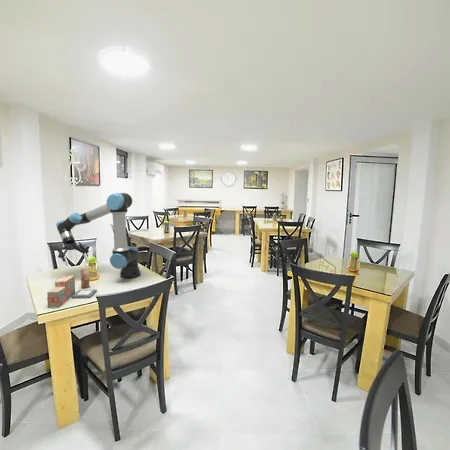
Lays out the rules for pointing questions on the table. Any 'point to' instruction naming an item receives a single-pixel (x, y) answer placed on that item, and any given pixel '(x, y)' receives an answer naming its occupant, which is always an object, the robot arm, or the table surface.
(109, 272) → the table surface
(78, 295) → the base board
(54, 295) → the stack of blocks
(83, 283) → the column
